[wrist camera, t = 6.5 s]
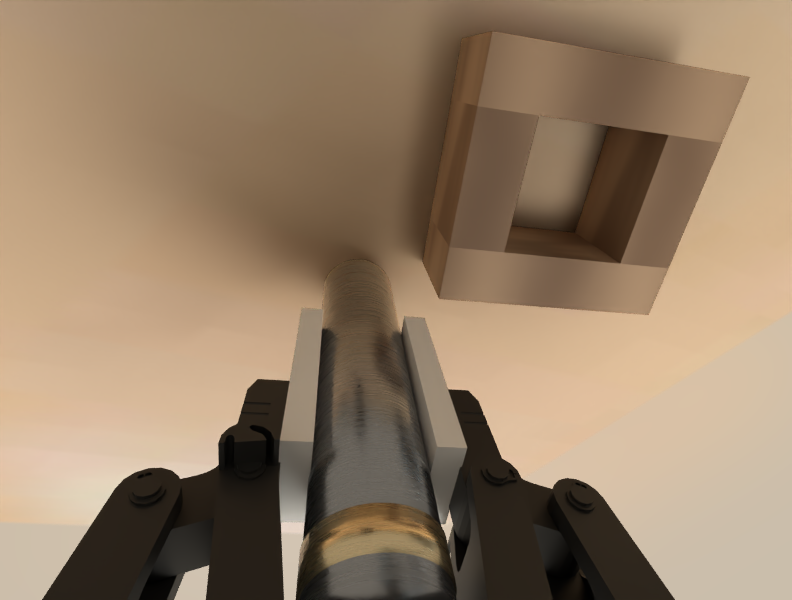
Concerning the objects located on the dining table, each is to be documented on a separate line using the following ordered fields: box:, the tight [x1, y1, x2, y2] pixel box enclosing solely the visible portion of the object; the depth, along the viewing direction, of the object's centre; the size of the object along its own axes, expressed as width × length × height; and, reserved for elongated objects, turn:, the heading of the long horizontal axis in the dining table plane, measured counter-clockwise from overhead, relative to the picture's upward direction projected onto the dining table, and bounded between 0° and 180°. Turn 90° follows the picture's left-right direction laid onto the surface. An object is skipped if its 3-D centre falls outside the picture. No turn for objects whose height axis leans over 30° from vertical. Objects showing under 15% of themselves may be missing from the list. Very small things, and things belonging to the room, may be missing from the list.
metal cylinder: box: [296, 260, 457, 600], centre depth 15 cm, size 3×3×14 cm
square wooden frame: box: [423, 31, 750, 315], centre depth 19 cm, size 9×9×4 cm
